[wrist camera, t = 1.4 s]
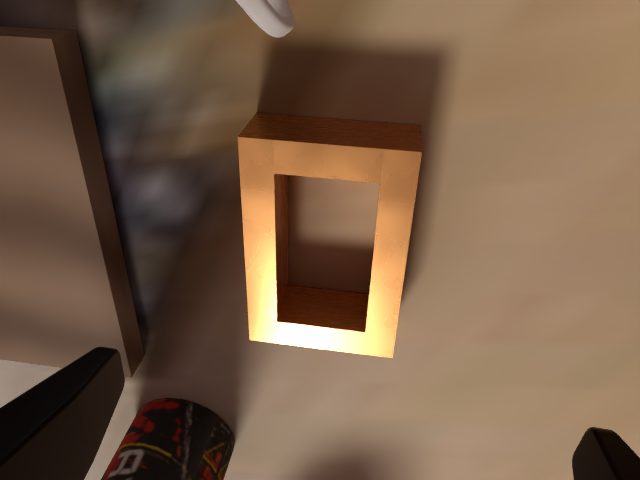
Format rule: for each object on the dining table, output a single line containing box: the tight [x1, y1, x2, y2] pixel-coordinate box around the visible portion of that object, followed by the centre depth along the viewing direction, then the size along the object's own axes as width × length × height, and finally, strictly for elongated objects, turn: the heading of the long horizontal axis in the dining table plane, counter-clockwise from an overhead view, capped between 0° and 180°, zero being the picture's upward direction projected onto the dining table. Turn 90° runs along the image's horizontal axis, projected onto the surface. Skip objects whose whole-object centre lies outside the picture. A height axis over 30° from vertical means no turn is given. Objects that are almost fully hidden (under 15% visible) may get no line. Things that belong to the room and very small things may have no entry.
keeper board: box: [0, 26, 144, 377], centre depth 23 cm, size 16×9×2 cm, turn 178°
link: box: [238, 113, 422, 358], centre depth 20 cm, size 9×6×2 cm, turn 178°
